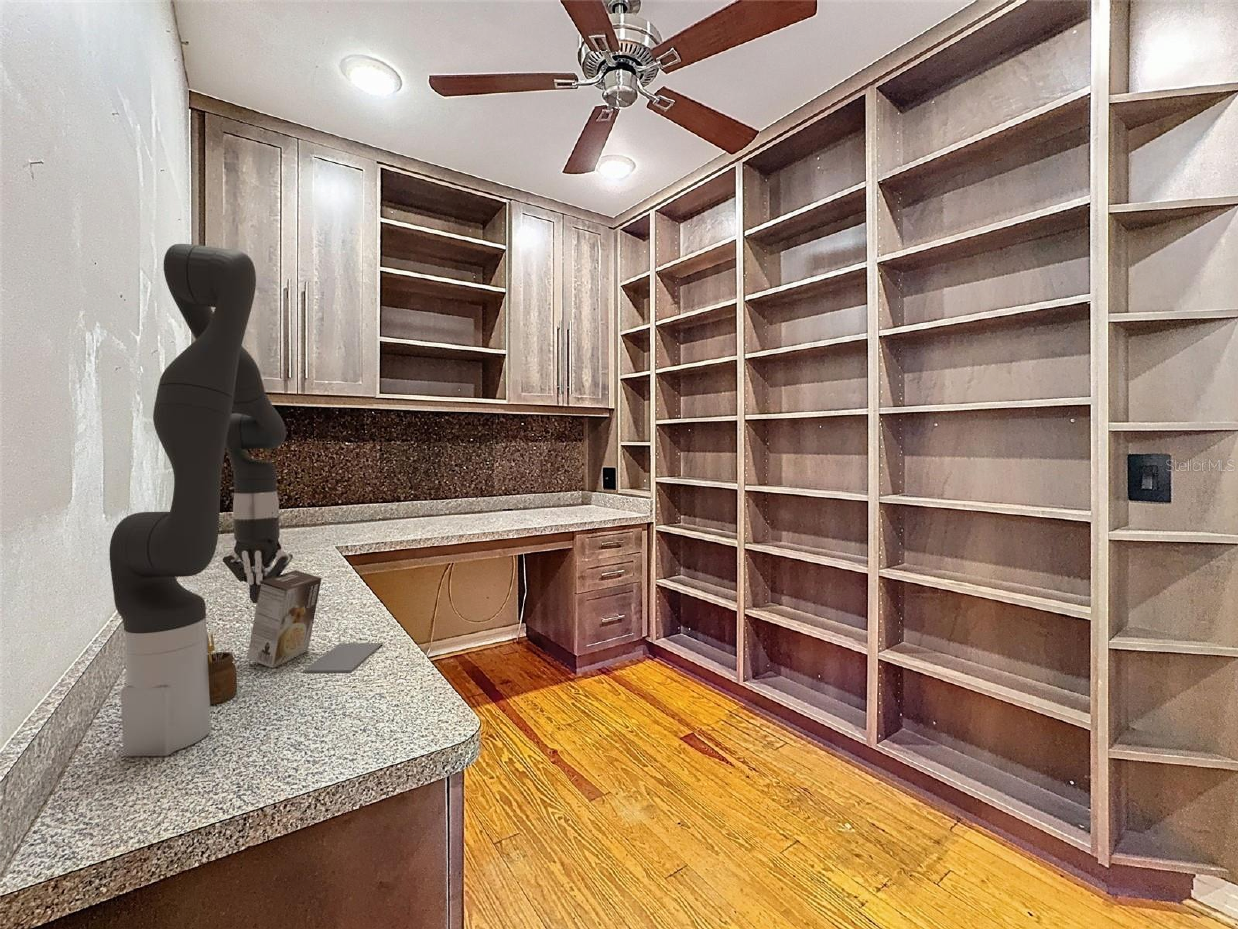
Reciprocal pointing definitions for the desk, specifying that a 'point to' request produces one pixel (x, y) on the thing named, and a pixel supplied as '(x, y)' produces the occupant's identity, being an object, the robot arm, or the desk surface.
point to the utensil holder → (220, 673)
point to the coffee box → (283, 618)
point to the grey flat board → (343, 658)
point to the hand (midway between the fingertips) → (259, 602)
